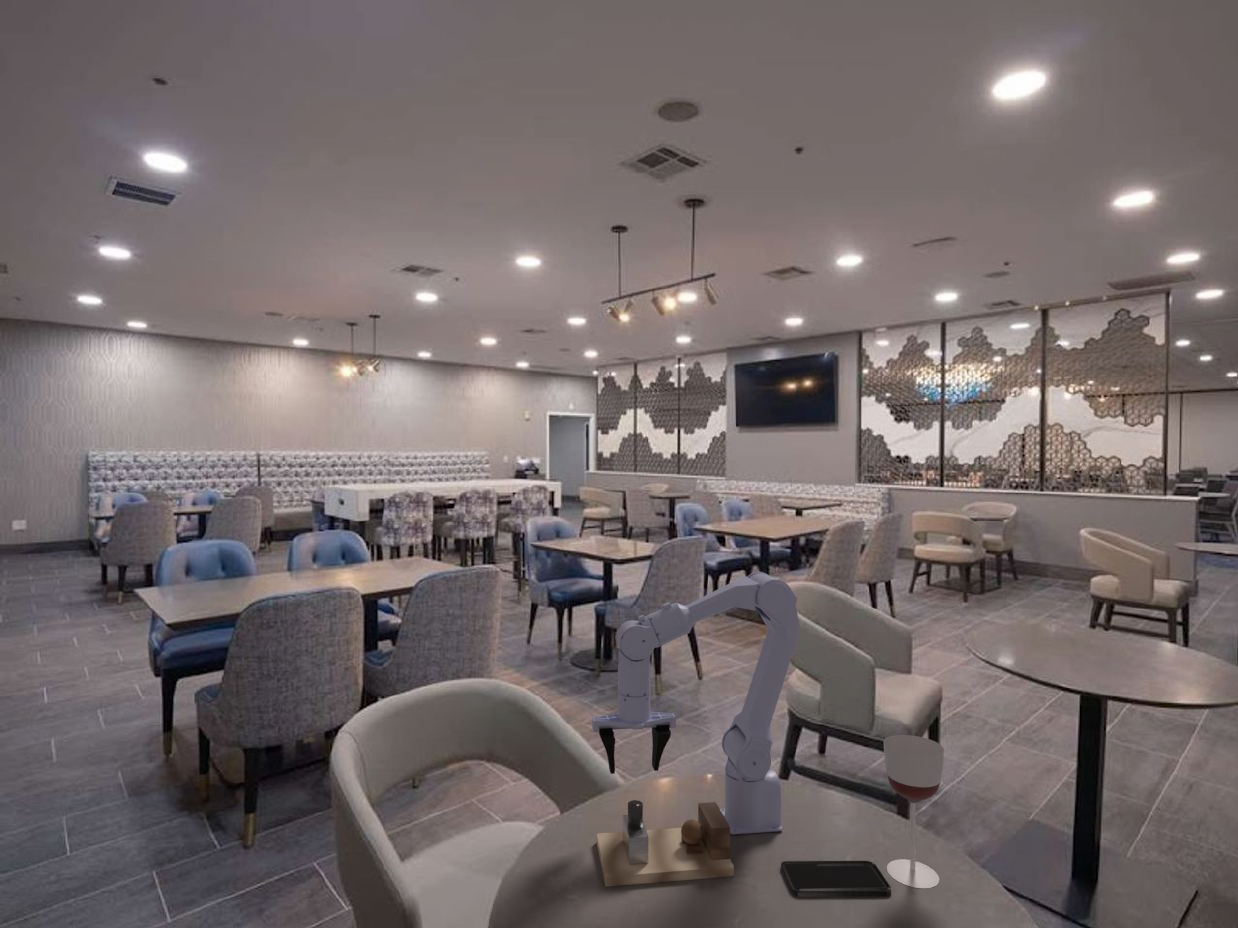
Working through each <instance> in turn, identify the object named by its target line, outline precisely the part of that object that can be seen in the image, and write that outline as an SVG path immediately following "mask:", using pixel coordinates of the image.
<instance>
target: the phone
mask: <svg viewBox="0 0 1238 928" xmlns="http://www.w3.org/2000/svg"><path fill="white" fill-rule="evenodd" d="M780 871H781V873H782V875H783V877H784V880H785V882H786V884H787V887H788V889H789V891H790V893H791V894H792V895H793V896H795V897H797V898H843V897H844V898H852V897H853V898H858V897H859V898H863V897H864V898H865V897H866V898H868V897H871V898H873V897H874V898H875V897H878V898H879V897H881V898H882V897H890V896H891V895H892V887H891V885H890V883H889V882H888V881H887V878H885V876H884V875H883V874H882V872H881V871H880V869H879V868H878V866H877V865H876V864H875V863H874V862H873V861H870V860H784V861H782V862H780Z"/></svg>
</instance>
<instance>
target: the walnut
mask: <svg viewBox="0 0 1238 928" xmlns="http://www.w3.org/2000/svg"><path fill="white" fill-rule="evenodd" d="M680 828H681V835H682V838H683V840H684V841H685V842H686V843H688V844H690V845H695V844H698V843H699V842H700V841H701V840H702V838H703V828H702V826H701V824H700V823H699V822H698V820H695V819H688V820H685V821H684V822H683V824H682V826H681V827H680Z"/></svg>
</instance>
